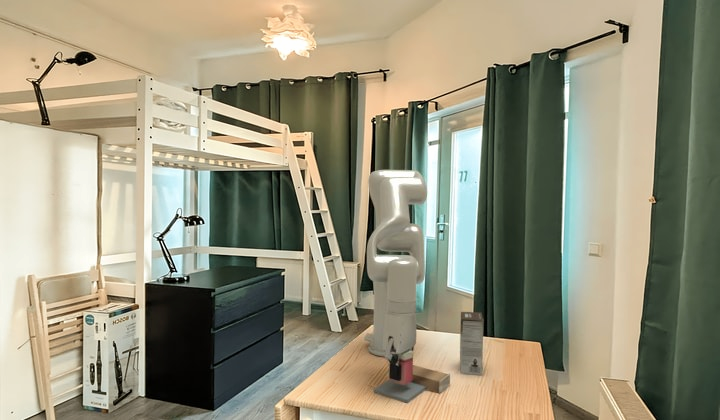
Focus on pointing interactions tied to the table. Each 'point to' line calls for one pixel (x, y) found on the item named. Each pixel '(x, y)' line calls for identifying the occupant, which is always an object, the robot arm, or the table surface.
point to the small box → (405, 367)
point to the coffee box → (471, 343)
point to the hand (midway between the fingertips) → (400, 375)
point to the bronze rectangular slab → (431, 379)
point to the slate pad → (400, 390)
